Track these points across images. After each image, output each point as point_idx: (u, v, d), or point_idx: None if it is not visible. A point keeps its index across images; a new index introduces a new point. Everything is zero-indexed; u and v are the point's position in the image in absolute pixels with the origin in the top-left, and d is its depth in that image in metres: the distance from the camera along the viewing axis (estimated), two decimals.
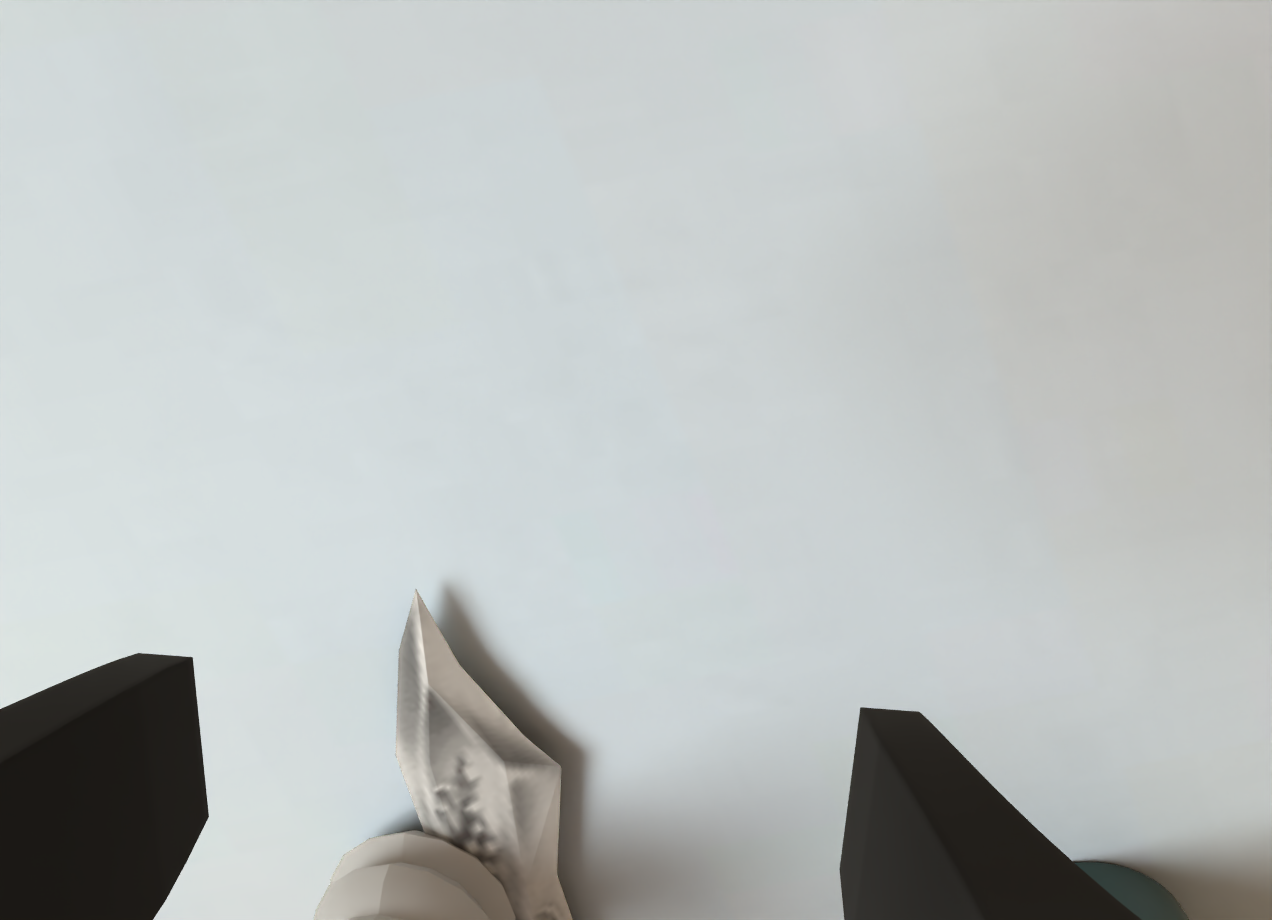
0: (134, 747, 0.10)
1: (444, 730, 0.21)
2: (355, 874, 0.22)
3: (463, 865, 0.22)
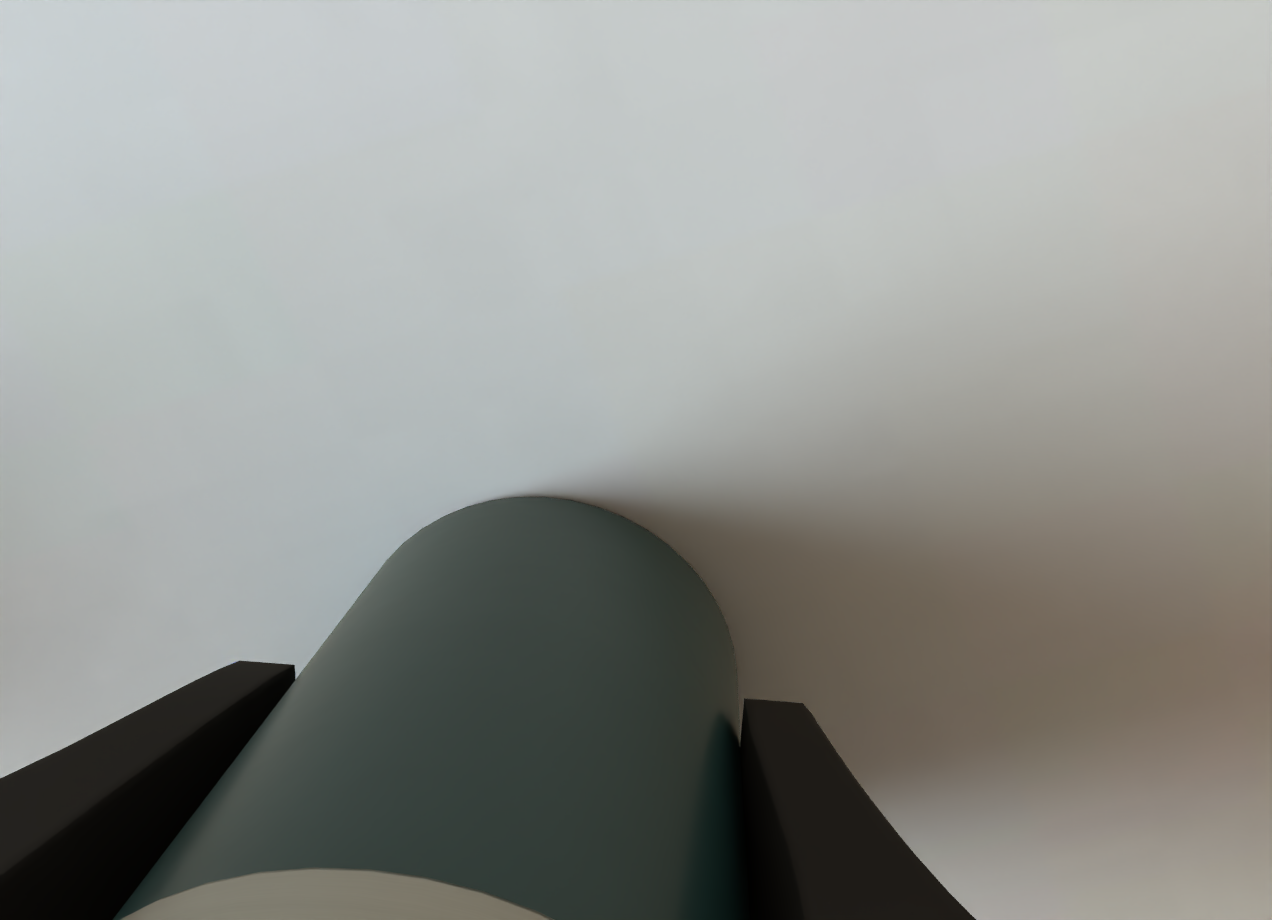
0: None
1: None
2: None
3: None
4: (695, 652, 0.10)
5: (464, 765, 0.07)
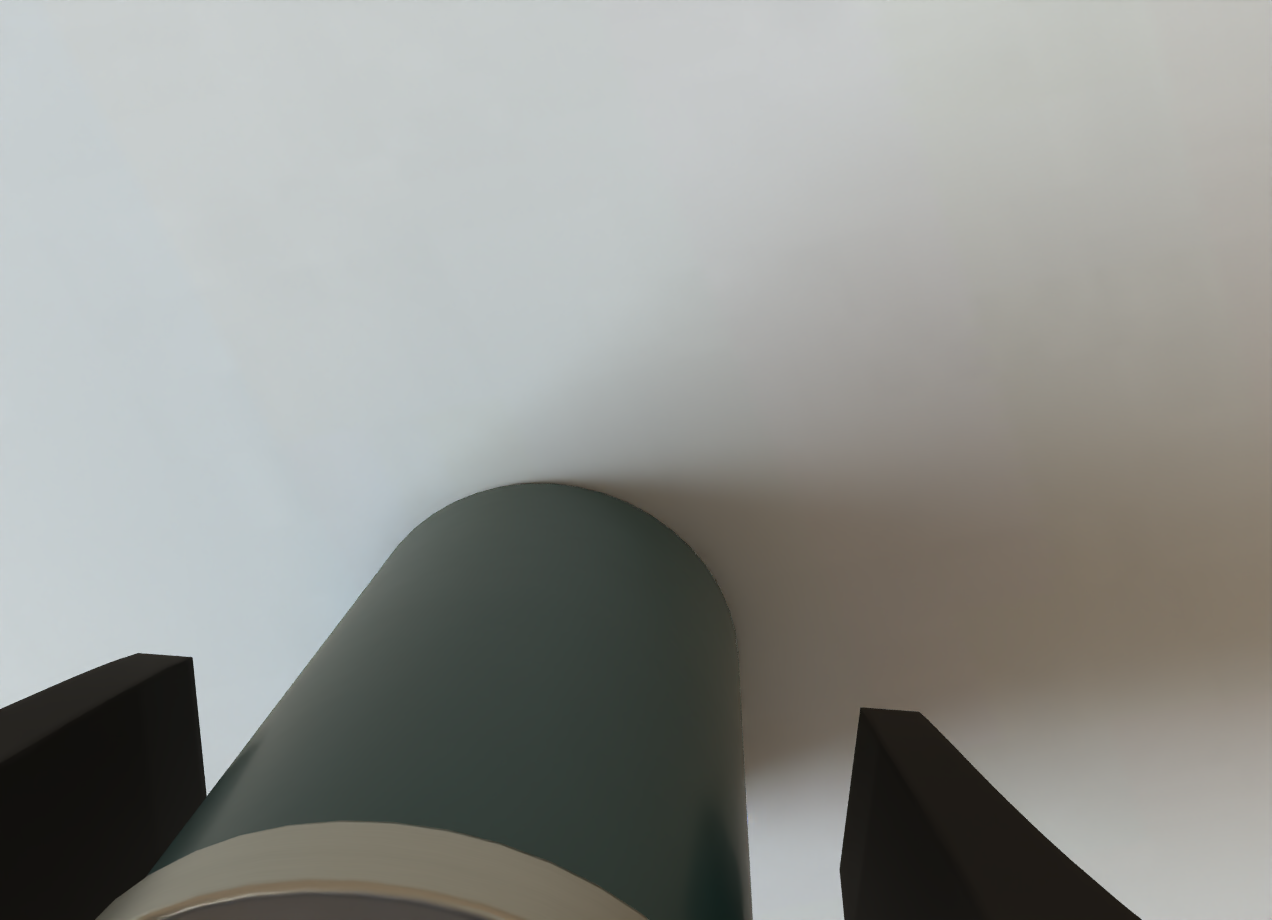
0: (134, 747, 0.10)
1: None
2: None
3: None
4: (699, 633, 0.10)
5: (478, 730, 0.07)
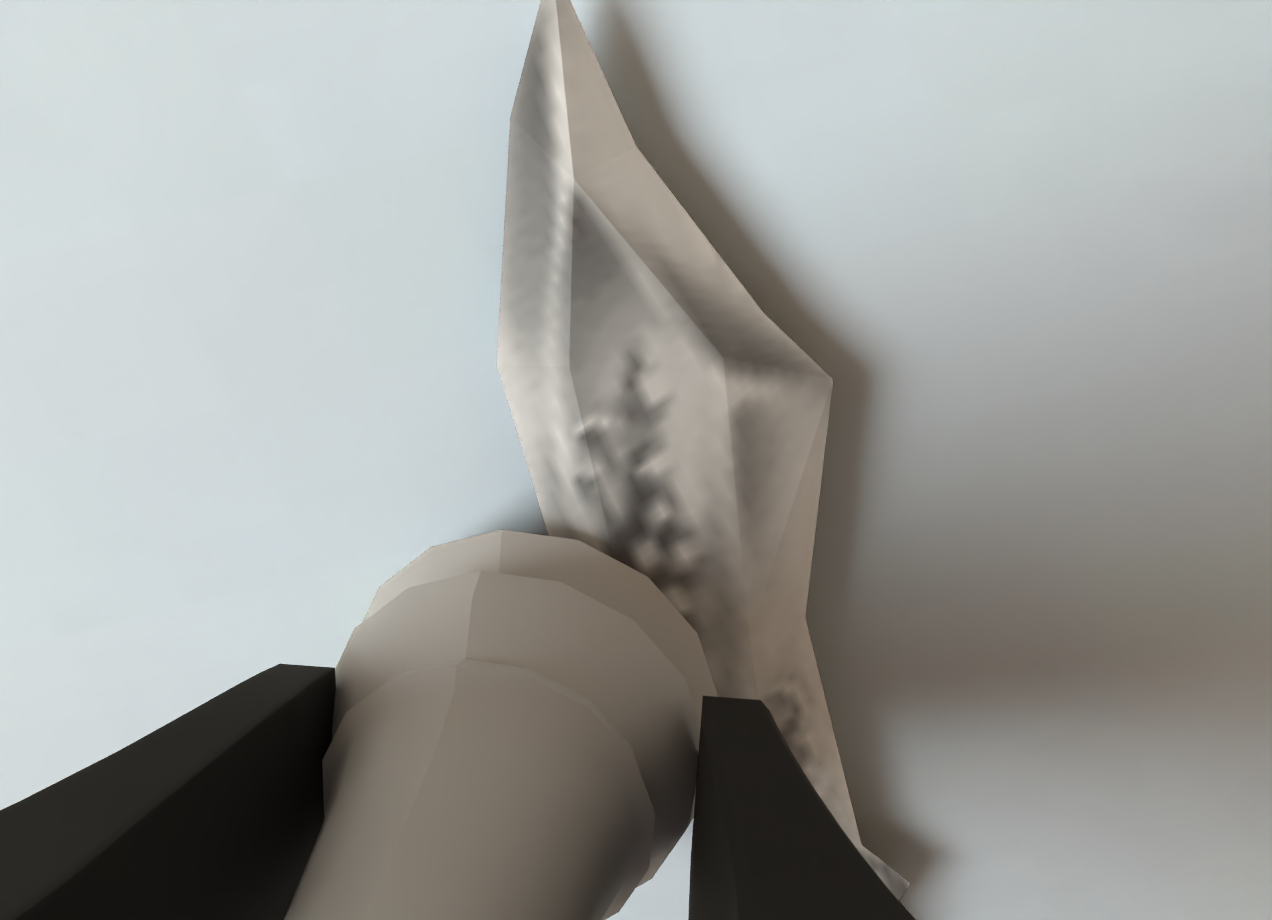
0: (292, 759, 0.10)
1: (602, 290, 0.10)
2: (410, 595, 0.10)
3: (623, 587, 0.11)
4: None
5: None
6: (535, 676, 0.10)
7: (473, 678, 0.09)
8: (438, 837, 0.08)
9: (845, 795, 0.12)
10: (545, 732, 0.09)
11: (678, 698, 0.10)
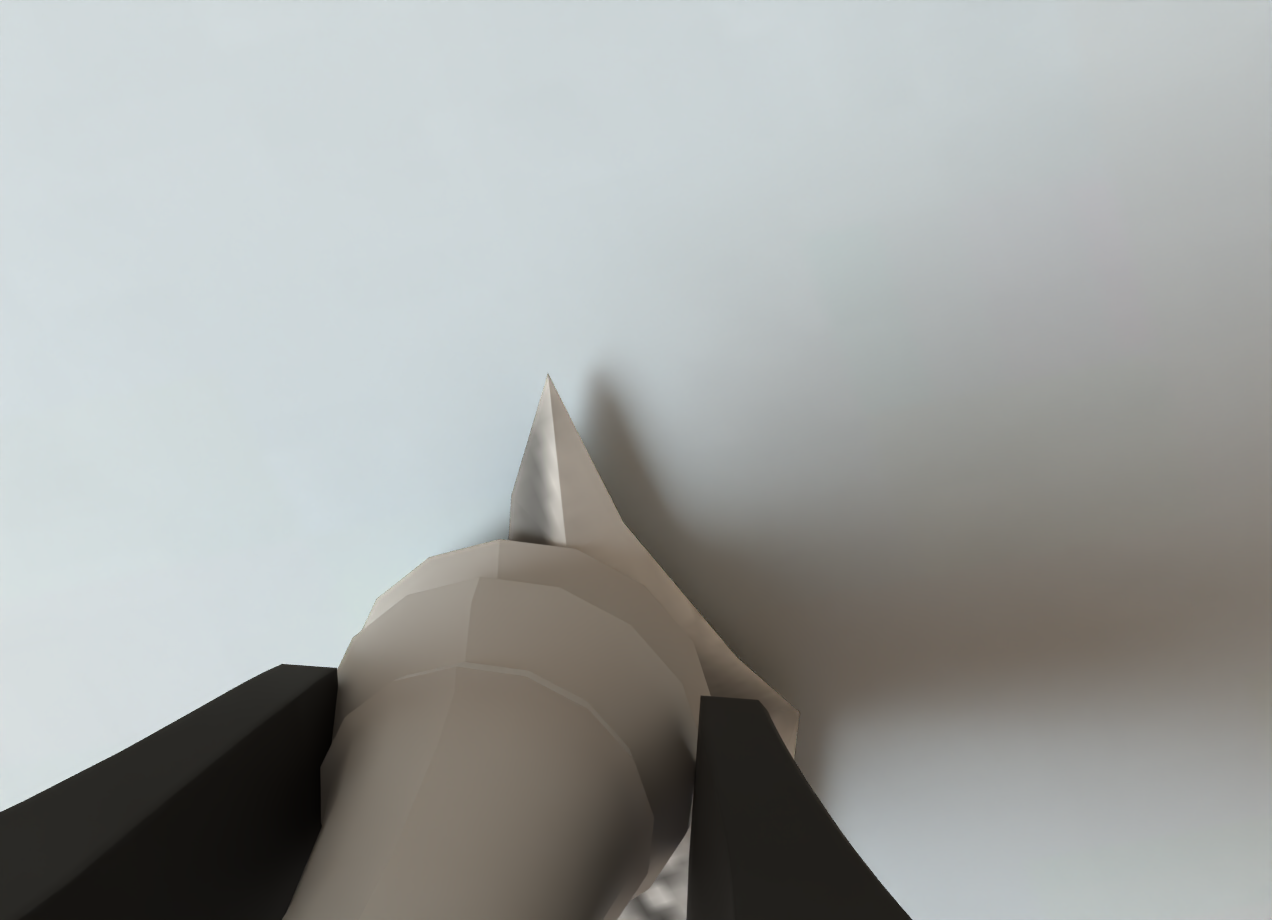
0: (293, 760, 0.10)
1: None
2: (409, 602, 0.11)
3: (619, 595, 0.11)
4: None
5: None
6: (534, 677, 0.10)
7: (471, 680, 0.10)
8: (441, 831, 0.08)
9: None
10: (546, 733, 0.09)
11: (676, 703, 0.10)
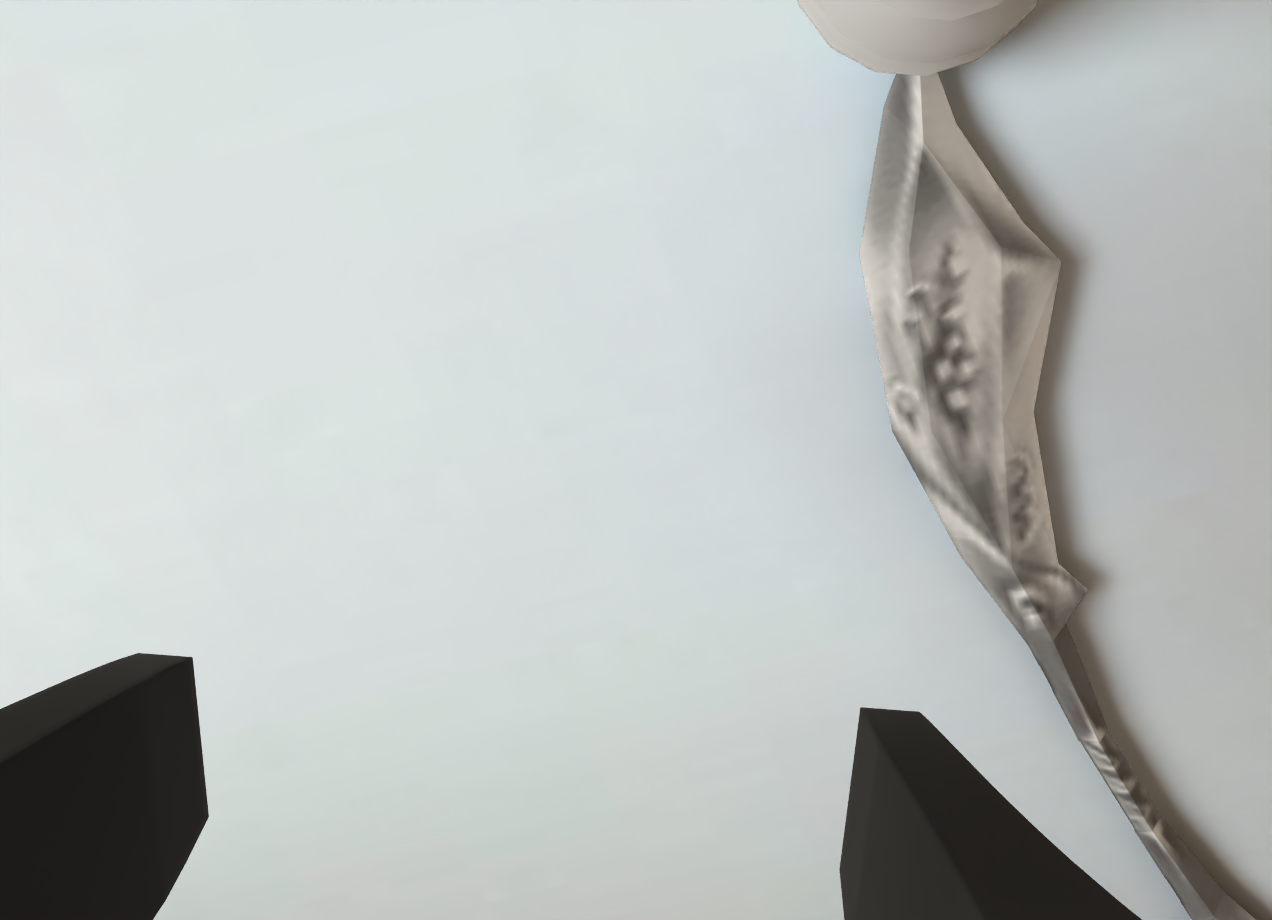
0: (134, 747, 0.10)
1: (933, 206, 0.18)
2: None
3: None
4: None
5: None
6: None
7: None
8: None
9: (1050, 530, 0.20)
10: None
11: None
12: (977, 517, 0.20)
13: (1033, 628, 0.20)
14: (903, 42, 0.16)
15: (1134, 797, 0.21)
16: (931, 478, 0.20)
